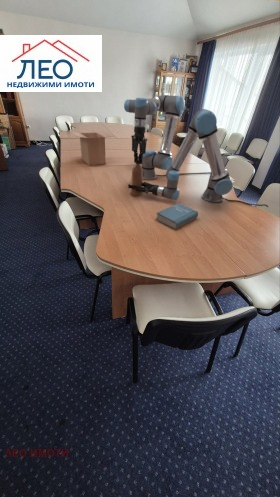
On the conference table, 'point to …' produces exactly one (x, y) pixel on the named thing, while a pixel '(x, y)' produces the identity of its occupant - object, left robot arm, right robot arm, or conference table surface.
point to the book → (176, 215)
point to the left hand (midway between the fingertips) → (137, 162)
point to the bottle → (137, 178)
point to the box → (92, 146)
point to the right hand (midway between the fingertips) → (131, 184)
